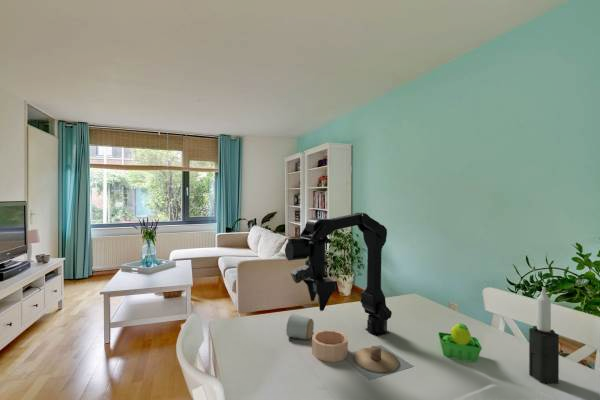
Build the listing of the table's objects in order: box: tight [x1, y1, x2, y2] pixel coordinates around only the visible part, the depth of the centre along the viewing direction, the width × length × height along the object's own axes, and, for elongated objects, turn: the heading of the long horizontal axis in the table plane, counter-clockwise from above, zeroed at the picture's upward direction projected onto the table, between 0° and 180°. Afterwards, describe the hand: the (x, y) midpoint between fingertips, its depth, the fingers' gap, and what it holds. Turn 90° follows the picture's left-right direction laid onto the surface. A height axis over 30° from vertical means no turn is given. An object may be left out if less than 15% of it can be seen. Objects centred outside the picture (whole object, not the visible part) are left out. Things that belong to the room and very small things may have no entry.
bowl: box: [311, 329, 349, 363], centre depth 93 cm, size 11×11×5 cm
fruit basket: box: [437, 322, 483, 363], centre depth 93 cm, size 11×9×11 cm
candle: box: [528, 286, 560, 385], centre depth 81 cm, size 5×5×25 cm
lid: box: [354, 345, 399, 373], centre depth 89 cm, size 13×13×4 cm
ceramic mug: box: [285, 313, 315, 340], centre depth 106 cm, size 11×8×8 cm
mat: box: [344, 344, 415, 381], centre depth 89 cm, size 16×14×1 cm
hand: (316, 305), depth 96 cm, fingers open, 9 cm apart
